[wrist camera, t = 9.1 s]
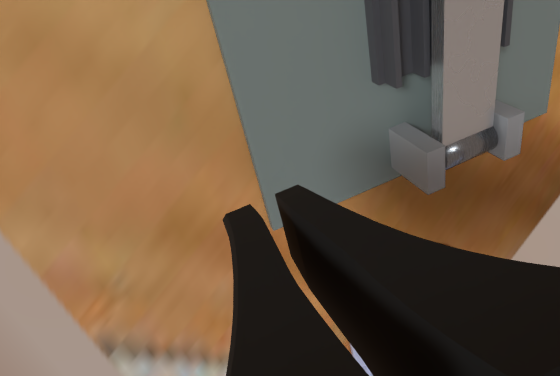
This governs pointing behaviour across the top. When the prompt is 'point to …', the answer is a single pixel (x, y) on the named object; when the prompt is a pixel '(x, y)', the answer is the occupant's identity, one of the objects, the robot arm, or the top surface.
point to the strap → (465, 75)
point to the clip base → (363, 89)
